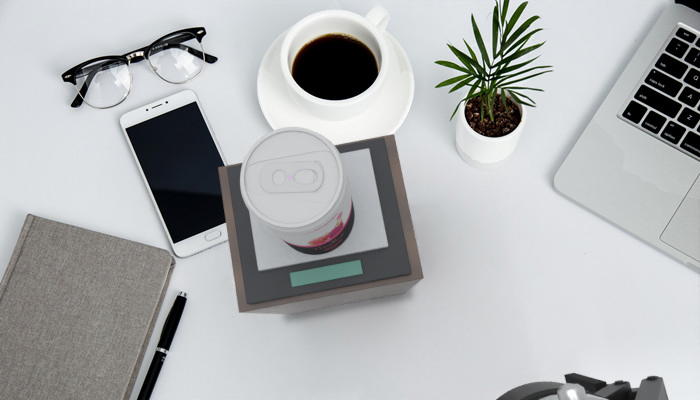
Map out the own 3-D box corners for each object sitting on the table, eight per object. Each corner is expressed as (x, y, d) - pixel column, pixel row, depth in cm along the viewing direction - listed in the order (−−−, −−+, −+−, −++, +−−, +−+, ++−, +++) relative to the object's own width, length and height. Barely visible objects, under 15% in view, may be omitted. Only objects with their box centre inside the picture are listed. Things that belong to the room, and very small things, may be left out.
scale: (411, 274, 52) (412, 272, 50) (249, 304, 52) (244, 304, 50) (384, 141, 55) (384, 134, 53) (229, 170, 55) (224, 164, 53)
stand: (405, 292, 83) (423, 278, 52) (290, 314, 84) (239, 312, 52) (387, 200, 86) (394, 133, 55) (275, 221, 86) (217, 167, 55)
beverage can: (355, 254, 51) (346, 229, 36) (276, 256, 51) (236, 231, 36) (354, 177, 52) (345, 122, 37) (277, 179, 52) (238, 125, 37)
